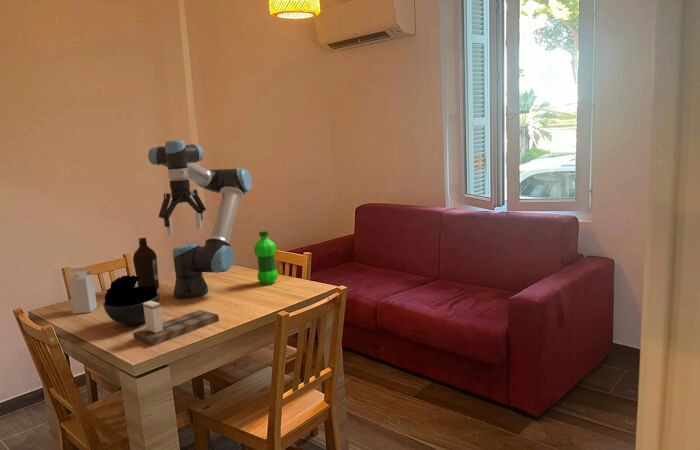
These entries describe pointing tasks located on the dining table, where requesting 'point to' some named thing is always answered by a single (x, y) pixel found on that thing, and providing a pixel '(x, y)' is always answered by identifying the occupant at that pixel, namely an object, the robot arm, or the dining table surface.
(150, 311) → the fader tab
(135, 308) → the coal bowl
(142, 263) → the olive oil
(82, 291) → the milk carton
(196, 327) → the dark brown wooden board
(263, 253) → the plastic bottle
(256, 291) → the dining table surface
